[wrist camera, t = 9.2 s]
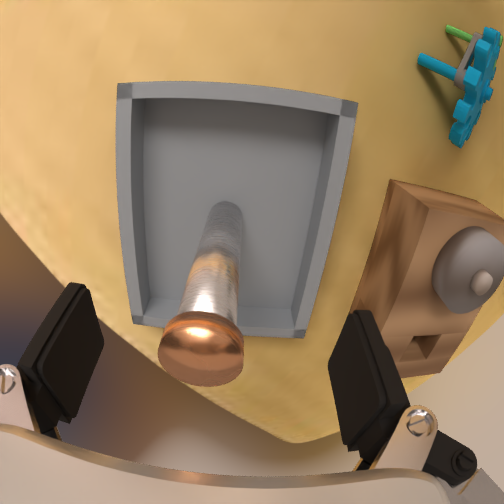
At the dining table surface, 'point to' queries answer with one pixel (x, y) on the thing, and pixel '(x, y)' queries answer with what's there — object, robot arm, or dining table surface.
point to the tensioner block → (429, 273)
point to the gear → (469, 77)
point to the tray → (229, 192)
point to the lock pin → (209, 307)
